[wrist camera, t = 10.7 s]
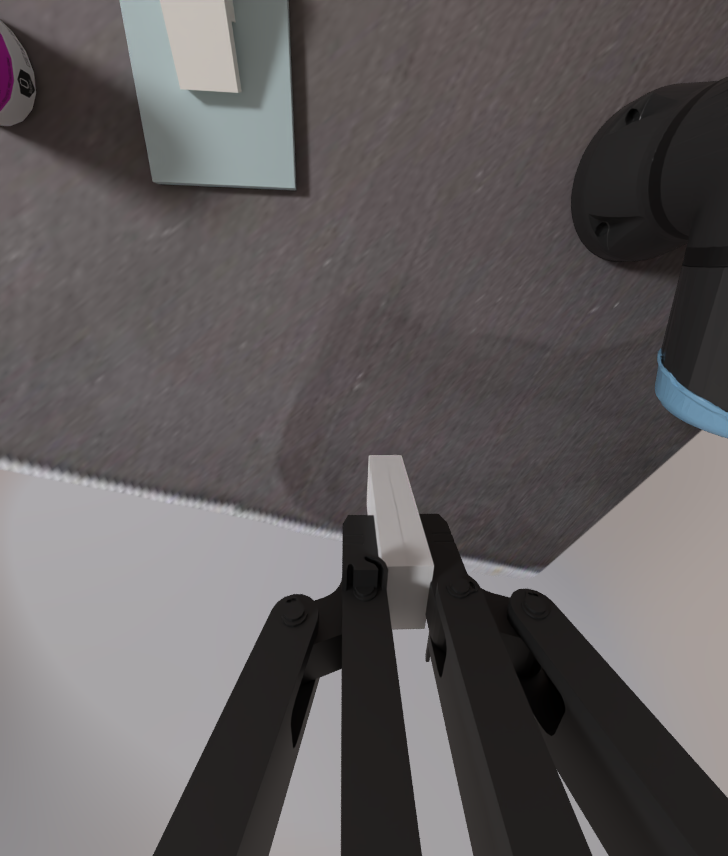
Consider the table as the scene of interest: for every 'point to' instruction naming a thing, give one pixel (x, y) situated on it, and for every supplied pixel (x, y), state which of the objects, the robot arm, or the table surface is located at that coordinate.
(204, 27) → the domino
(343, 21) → the table surface
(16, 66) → the supplement can
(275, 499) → the table surface
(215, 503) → the table surface
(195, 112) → the domino board
